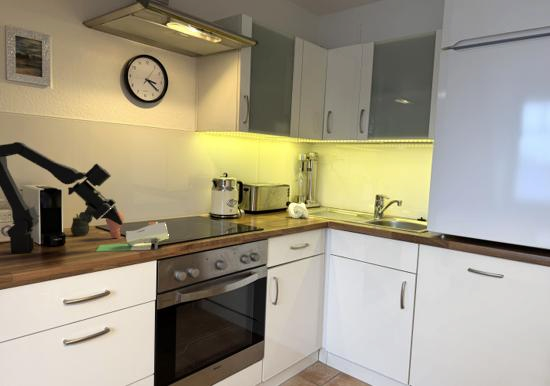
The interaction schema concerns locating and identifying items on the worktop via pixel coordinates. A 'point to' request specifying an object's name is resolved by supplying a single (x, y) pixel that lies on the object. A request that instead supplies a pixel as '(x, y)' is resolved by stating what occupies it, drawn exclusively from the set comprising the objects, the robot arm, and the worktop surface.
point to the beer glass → (147, 234)
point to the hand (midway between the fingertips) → (121, 224)
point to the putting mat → (125, 246)
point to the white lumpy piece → (297, 210)
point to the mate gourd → (79, 227)
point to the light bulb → (114, 226)
